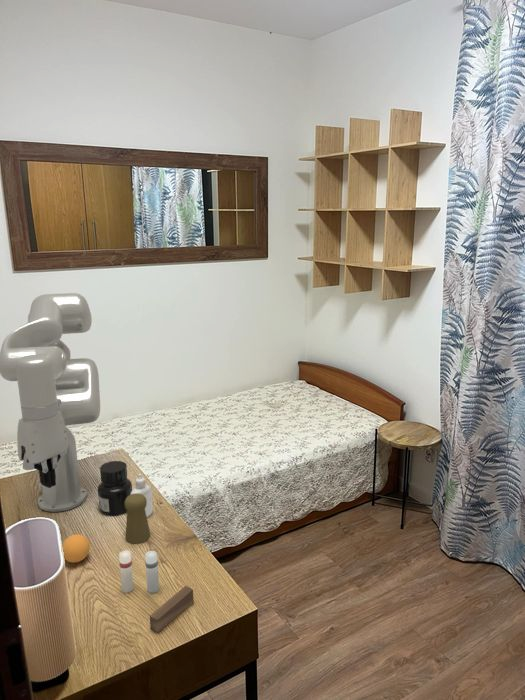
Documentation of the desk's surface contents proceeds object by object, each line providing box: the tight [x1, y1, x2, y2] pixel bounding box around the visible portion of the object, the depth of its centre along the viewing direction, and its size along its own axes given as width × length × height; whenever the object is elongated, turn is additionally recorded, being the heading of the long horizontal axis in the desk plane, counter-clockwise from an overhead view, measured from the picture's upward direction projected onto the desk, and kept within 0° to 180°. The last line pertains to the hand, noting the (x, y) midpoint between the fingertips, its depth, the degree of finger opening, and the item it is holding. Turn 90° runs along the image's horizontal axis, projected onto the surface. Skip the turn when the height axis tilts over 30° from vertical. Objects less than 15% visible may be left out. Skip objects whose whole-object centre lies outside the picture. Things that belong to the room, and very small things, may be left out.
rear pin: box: [144, 550, 160, 594], centre depth 109 cm, size 2×2×8 cm
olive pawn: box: [124, 493, 151, 545], centre depth 126 cm, size 6×6×11 cm
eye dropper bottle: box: [130, 473, 154, 518], centre depth 135 cm, size 4×6×12 cm
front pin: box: [118, 549, 135, 594], centre depth 109 cm, size 2×2×8 cm
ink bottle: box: [97, 460, 133, 516], centre depth 139 cm, size 10×9×12 cm
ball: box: [61, 534, 91, 564], centre depth 119 cm, size 6×6×6 cm
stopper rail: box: [149, 585, 195, 634], centre depth 103 cm, size 2×10×3 cm, turn 145°
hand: (48, 484), depth 120 cm, fingers closed
